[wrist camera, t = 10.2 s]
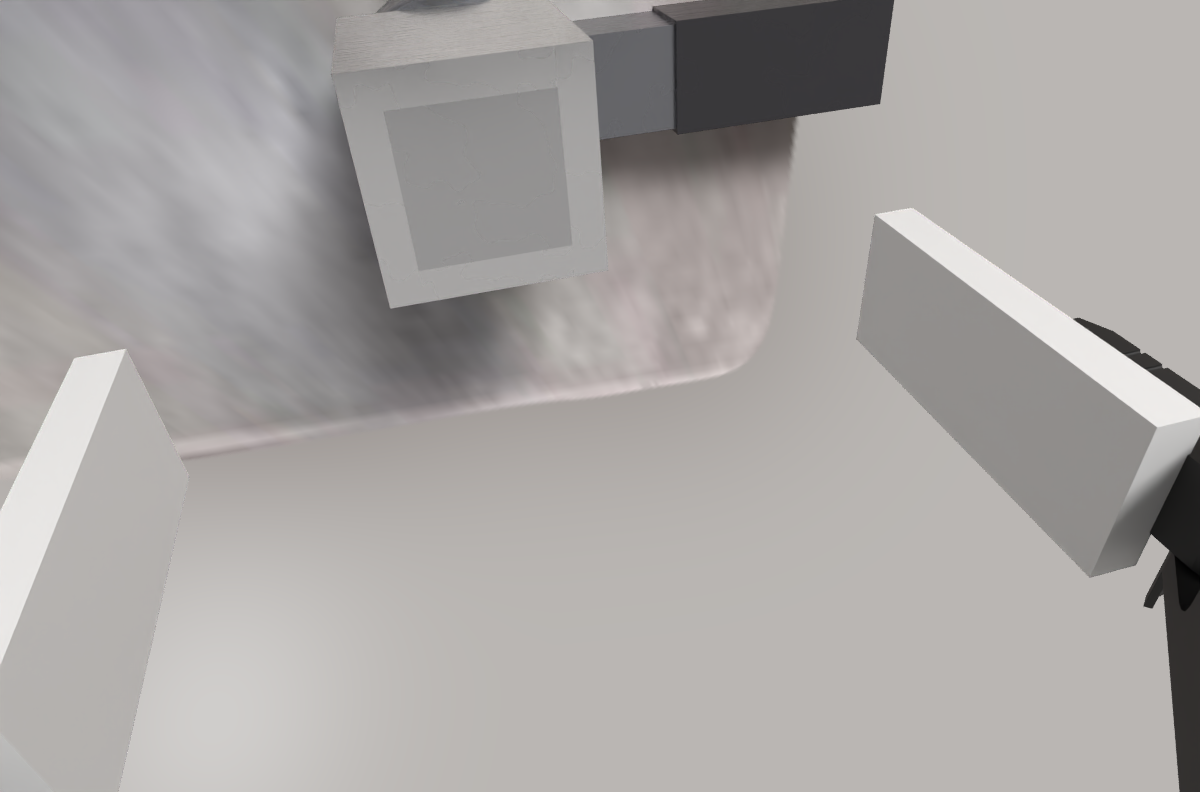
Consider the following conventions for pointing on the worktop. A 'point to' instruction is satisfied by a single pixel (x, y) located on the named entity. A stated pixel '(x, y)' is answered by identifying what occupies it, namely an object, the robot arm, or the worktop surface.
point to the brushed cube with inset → (473, 145)
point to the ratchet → (730, 61)
